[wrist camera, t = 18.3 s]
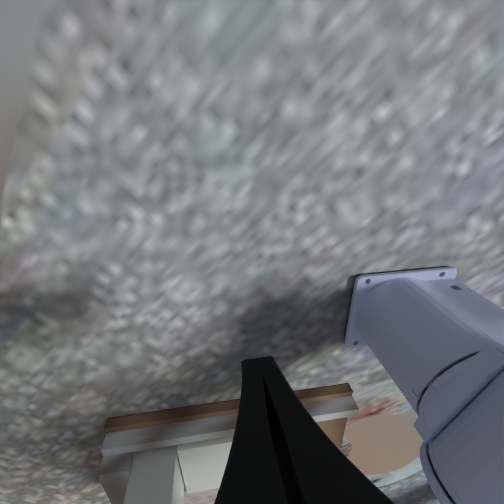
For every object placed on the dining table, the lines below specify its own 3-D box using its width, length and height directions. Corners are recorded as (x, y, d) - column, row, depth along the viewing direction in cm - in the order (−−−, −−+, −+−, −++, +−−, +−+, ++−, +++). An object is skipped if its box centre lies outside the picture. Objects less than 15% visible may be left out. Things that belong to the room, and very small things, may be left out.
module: (178, 434, 28) (170, 516, 22) (185, 467, 30) (180, 547, 24) (137, 441, 27) (118, 526, 21) (148, 473, 30) (134, 557, 24)
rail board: (348, 383, 29) (367, 419, 26) (335, 447, 35) (350, 484, 31) (107, 418, 26) (91, 464, 23) (133, 482, 32) (123, 528, 28)
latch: (275, 416, 28) (286, 461, 25) (274, 459, 32) (283, 504, 28) (178, 431, 27) (173, 481, 23) (188, 474, 31) (185, 523, 27)
